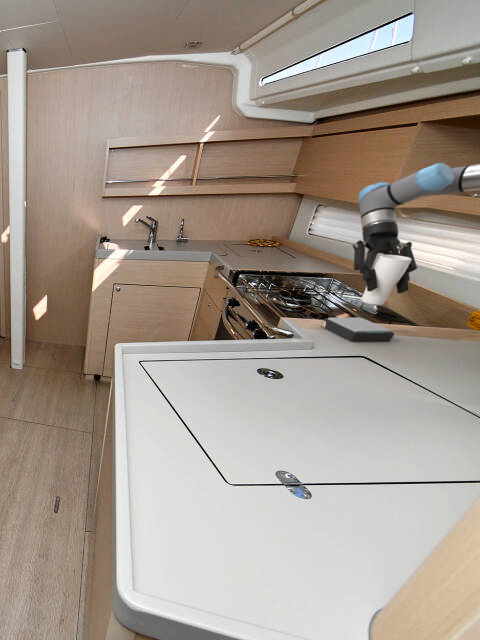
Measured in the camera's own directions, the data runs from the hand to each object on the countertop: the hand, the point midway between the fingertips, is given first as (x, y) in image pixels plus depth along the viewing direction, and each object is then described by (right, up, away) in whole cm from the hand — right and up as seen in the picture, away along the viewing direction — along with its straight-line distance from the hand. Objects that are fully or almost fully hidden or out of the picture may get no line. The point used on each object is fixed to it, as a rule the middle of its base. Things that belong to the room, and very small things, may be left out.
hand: (387, 290), depth 110 cm
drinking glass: (+1, -3, +6) cm, 7 cm away
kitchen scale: (+2, -13, +11) cm, 17 cm away
